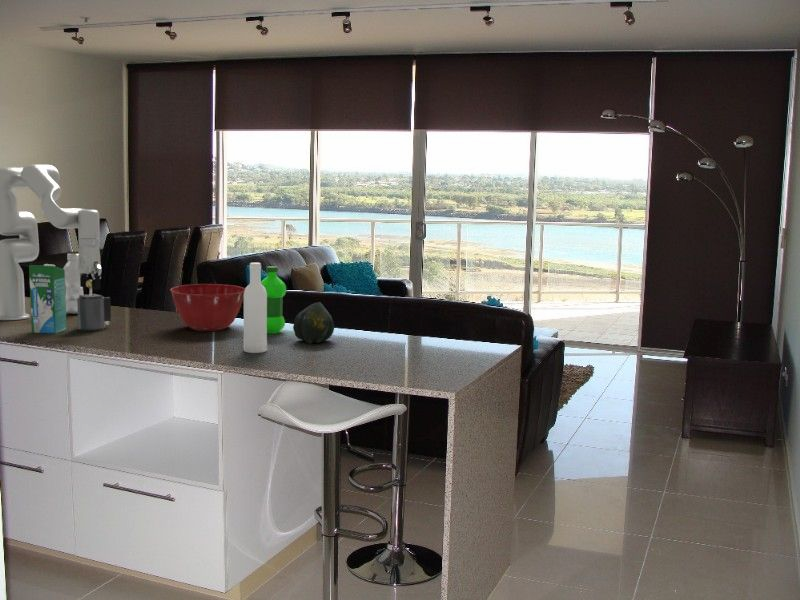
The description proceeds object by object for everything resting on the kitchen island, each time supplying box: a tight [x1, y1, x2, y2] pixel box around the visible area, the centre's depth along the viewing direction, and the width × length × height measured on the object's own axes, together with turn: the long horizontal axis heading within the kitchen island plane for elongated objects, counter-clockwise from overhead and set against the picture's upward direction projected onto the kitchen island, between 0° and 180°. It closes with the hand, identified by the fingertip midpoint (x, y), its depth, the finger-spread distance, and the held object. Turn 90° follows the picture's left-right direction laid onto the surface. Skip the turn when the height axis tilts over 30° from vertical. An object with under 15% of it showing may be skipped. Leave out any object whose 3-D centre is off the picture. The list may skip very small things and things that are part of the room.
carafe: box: [77, 293, 112, 332], centre depth 330 cm, size 9×12×13 cm
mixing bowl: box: [169, 283, 246, 332], centre depth 336 cm, size 28×28×16 cm
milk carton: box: [28, 263, 67, 335], centre depth 322 cm, size 9×9×25 cm
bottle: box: [243, 262, 268, 354], centre depth 294 cm, size 8×8×30 cm
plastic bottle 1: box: [63, 253, 84, 315], centre depth 361 cm, size 8×8×25 cm
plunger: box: [86, 279, 93, 296], centre depth 328 cm, size 6×6×16 cm
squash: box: [292, 301, 335, 345], centre depth 315 cm, size 14×15×15 cm
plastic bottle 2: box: [261, 265, 287, 334], centre depth 330 cm, size 10×10×25 cm
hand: (90, 288), depth 327 cm, fingers open, 9 cm apart
